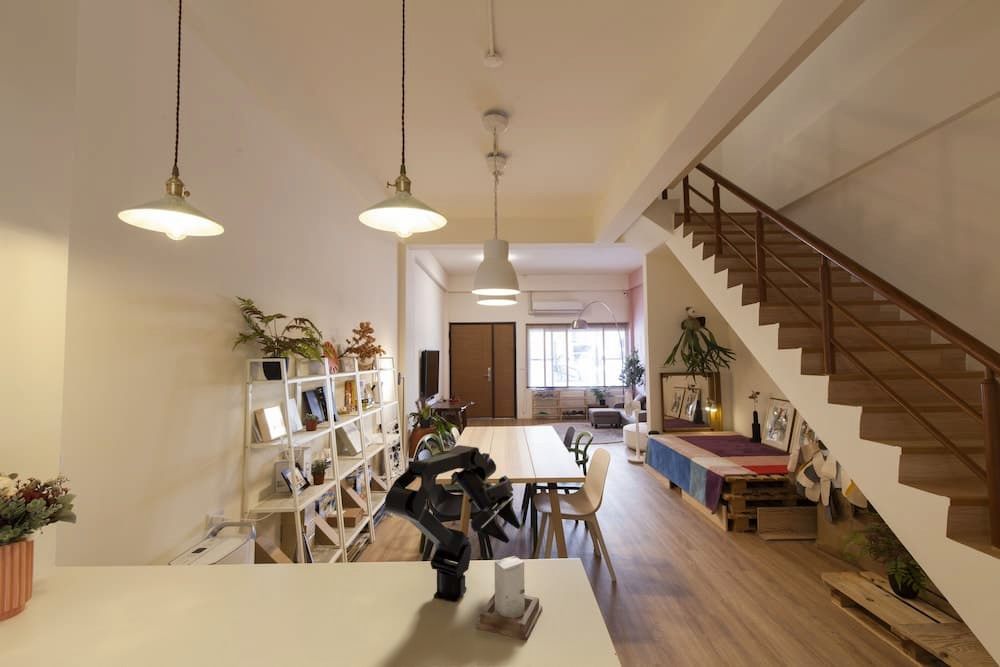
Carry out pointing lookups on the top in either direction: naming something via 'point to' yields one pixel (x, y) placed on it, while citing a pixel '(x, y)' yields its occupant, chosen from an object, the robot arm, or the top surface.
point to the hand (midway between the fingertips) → (514, 534)
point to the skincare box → (509, 587)
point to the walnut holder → (510, 619)
